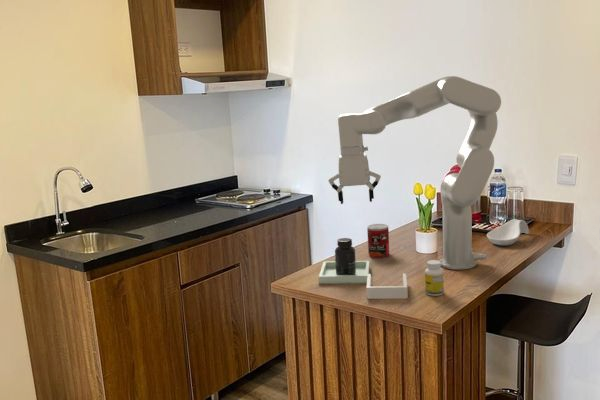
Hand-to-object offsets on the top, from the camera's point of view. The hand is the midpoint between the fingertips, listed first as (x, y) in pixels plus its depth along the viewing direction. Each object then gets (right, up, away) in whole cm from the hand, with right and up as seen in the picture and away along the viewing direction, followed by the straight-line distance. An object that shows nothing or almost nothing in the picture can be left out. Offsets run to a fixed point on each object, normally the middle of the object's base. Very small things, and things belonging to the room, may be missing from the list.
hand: (356, 202), depth 194 cm
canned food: (+11, -20, +22) cm, 32 cm away
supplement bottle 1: (-3, -24, +1) cm, 25 cm away
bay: (+8, -27, -15) cm, 32 cm away
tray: (-4, -25, +1) cm, 25 cm away
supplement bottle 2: (+22, -28, -19) cm, 40 cm away
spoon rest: (+62, -15, +30) cm, 71 cm away
